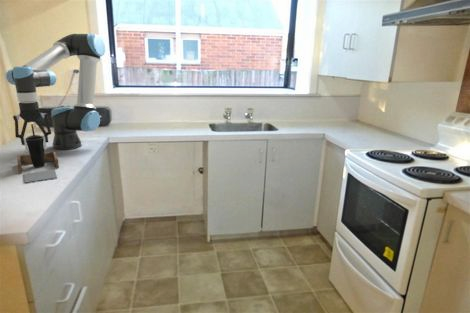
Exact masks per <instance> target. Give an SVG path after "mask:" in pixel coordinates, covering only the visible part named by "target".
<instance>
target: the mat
mask: <svg viewBox="0 0 470 313" xmlns="http://www.w3.org/2000/svg"><path fill="white" fill-rule="evenodd" d="M23 178H24V184H25V183H26V184H31V183H30V182H32V183H36V182H35V181H39V182H42V181H41V180H45V181H48V180H47V179H51V180H54V179H53V178H57V179H58V175H57V174H56V170H55V169H54V168H53V169H47V170H41V171H34V172H28V173H24V176H23Z"/></svg>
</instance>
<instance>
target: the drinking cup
mask: <svg viewBox="0 0 470 313" xmlns="http://www.w3.org/2000/svg"><path fill="white" fill-rule="evenodd" d="M30 125H31V126H30V127H31V131H32V135H31V134H30V135H28V136H27V137H26V143H27V148H28V152H29V154H30V156H31V160H32V165H33V167H34V168H39V167H43V166H45V165H46V162H45V159H44V153H45V147H44V141H43V135H40V134H35V130H34V124H33V123H32V124H30Z"/></svg>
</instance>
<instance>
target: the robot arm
mask: <svg viewBox="0 0 470 313" xmlns="http://www.w3.org/2000/svg"><path fill="white" fill-rule="evenodd" d="M105 53H106V45H105V42H104V40H103V38H102V36H100V35H98V34H97V33H71V34H67V35H65V36H64V37H61V38H59V39H58V40H56V41H55V42H54V43H53V45H52V46H51V47H50V48H48V49H46V50H45V51H43V52H42V53H40V54H39V55H37V56H36V57H34V58H32V59H30V61H27V63H25V64H24V65H22V66H14V67H13V68H12V69H11V68H10V69H9V70H7V71H6V73H5V74H6V75H5V78H6V80H7V82H8V83H9V84H10V85H14V87H15V91H16V96H17V101H18V107H19V114H16V115H14V114H13V116H12V118H13V121H14V133H15V134H14V136H15V138H19V139H20V142H21V145H22V146H24V147H25V148H24V149H25V152H26V153H28V152H29V150H28V146H27V143H26V138H27V137H26V136H25V133H26V131H27V125H28V123H36V125H37V126H38V127H39V129H40V130H41V132H42V133H43V135H42V136H43V143H44V151H46V150H48V146H47V143H49V138H48V137H49V136H50V135H52V130H51V127H50V124H49V121H48V113H47V112H45V113H43V112H41V111H40V107H39V102H38V95H37V88H43V87H51V86H55V84H57V75H56V73H55V72H54V71H52V70H50V69H51V68H52V67H53V66H55V65H56V64H58V63H59V62H60V61H62V60H63V59H65V60H67V59H68V58H69V57H72V56H73V57H74V56H75V57H76V58H78V59H79V69H78V70H79V71H78V83H77V84H78V87H77V97H76V104H74V105H73V106H63V107H57V108H53V109H51V113H50V114H51V122H52V127H53V134H54V135H53V140H52V149H54V150H56V151H57V150H58V151H67V150H75V149H77V148H78V149H79V148H81V147H82V141H81V139H80V137H79V135H78V132H80V131H81V132H94V131H95V130H97V128H98V127H99V125H100V123H101V116H100V114H99V113H100V112H98V111H97V108H96V106H95V104H94V103H95V92H96V91H95V90H96V80H97V79H96V77H97V66H98V63H99V62H100V61H101V57H102V56H104V55H105ZM40 117H42V119H43V120H44V123H45V126H46V129H47V131H46V129H45V127H44V126H43V125H42V123H41V122H40V120H39V119H40ZM20 118H21V119H22V120H23V125H22V129H21V132H20V133H19V121H20ZM77 131H78V132H77Z"/></svg>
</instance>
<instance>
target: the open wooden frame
mask: <svg viewBox="0 0 470 313" xmlns="http://www.w3.org/2000/svg"><path fill="white" fill-rule="evenodd" d="M44 159H45V163H47V162H48V163H49V162H54V164H55V168H56V169H59V168H60V165H59V160H58V156H57V153H56V151H48V152H47V151H46V152H44ZM16 163H17V169H18V174H20V175H21V174H22V173H23V171H22V170H23V168H22V165H25V166H26V165H29V164H31V165H33V163H32V160H31V156H30V153H29V154H22V155H21V154H19V155H17V162H16Z"/></svg>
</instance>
